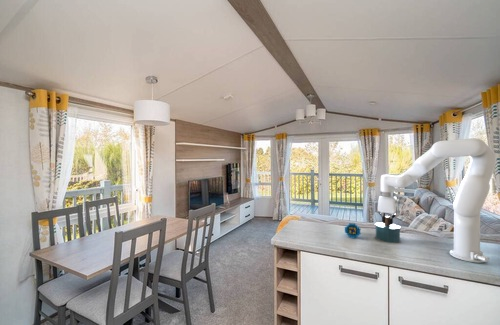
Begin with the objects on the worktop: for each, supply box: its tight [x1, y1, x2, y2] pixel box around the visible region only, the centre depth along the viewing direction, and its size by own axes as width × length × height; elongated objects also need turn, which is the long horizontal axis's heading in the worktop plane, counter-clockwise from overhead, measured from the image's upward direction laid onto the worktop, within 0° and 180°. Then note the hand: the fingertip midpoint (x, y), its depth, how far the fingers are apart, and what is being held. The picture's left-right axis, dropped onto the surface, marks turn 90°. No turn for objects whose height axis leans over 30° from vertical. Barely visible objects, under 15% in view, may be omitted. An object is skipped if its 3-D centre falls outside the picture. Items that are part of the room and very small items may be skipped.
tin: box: [375, 226, 401, 244], centre depth 136 cm, size 13×13×8 cm
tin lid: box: [374, 215, 401, 230], centre depth 136 cm, size 14×14×7 cm
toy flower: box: [344, 222, 362, 239], centre depth 145 cm, size 9×9×18 cm
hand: (387, 223), depth 136 cm, fingers closed on tin lid, 2 cm apart
